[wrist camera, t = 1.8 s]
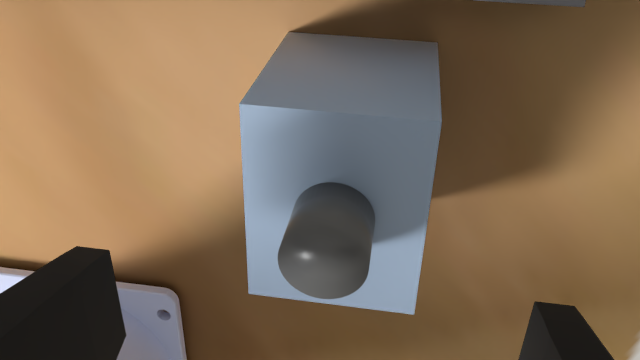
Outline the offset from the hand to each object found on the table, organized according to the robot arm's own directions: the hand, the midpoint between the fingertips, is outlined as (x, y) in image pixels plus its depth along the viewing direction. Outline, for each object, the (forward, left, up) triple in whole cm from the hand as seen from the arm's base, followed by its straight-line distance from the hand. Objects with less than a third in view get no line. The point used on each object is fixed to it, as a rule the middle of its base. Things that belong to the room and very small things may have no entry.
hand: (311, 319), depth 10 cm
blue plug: (0, 0, -8) cm, 8 cm away
